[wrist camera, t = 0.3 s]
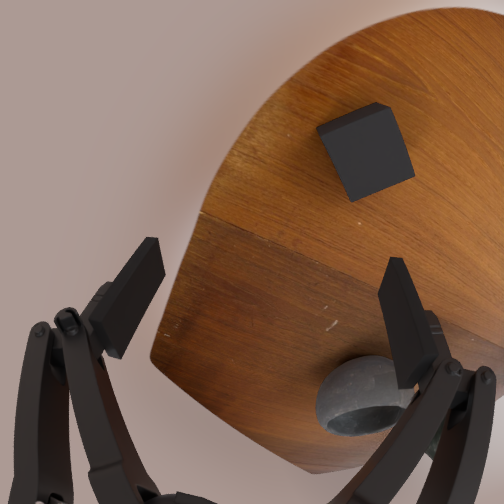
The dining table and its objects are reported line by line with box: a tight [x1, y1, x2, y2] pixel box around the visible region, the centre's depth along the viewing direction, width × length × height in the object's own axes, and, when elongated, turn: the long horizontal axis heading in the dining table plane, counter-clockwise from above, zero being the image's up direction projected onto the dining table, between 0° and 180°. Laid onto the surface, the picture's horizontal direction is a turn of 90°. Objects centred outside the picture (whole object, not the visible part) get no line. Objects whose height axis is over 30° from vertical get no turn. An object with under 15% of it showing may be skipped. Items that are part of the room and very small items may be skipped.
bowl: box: [316, 355, 414, 437], centre depth 37 cm, size 15×15×10 cm
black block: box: [316, 102, 415, 202], centre depth 21 cm, size 6×6×4 cm
